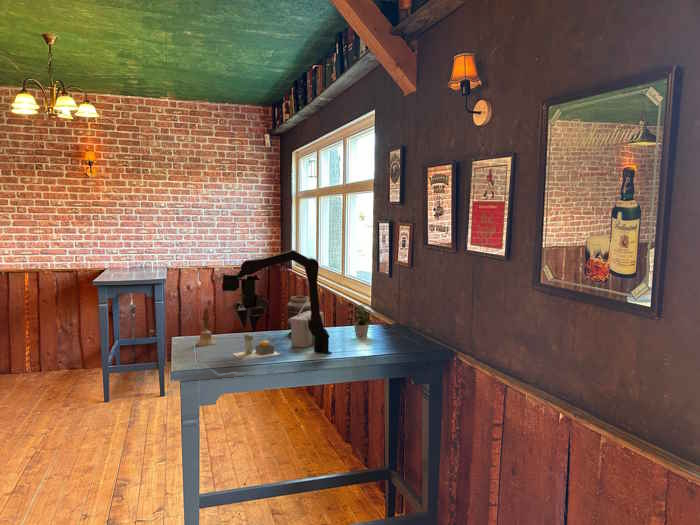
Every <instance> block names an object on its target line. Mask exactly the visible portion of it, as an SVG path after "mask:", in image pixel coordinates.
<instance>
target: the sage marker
mask: <svg viewBox="0 0 700 525" xmlns="http://www.w3.org/2000/svg"><path fill="white" fill-rule="evenodd" d="M243 336H244V337H243V338H244V352H245V354H252V353H253V350H254V347H253V346H254V345H253V344H254V343H253V342H254V341H253V340H254V334H252V333H245V334H244V335H243Z"/></svg>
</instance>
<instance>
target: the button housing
mask: <svg viewBox="0 0 700 525" xmlns="http://www.w3.org/2000/svg"><path fill="white" fill-rule="evenodd" d="M255 350H256V352H257V353H259V354H261V355H263V354H269V353H274V351H275V345H274V344H271V343H270V342H269V346H265V347H261V346H260V343H259V344H258V343H256V344H255Z"/></svg>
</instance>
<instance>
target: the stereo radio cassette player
mask: <svg viewBox="0 0 700 525" xmlns="http://www.w3.org/2000/svg"><path fill="white" fill-rule="evenodd" d="M308 298H309V299H310V297H309V296H308ZM307 301H308V300H307ZM307 301H306V303H307ZM306 303H305V304H304V306H305V305H306ZM304 306H303V307H302V309H303V308H304ZM302 309H301V311H302ZM301 311H300V312H299V314H298V315H297V316H295V317H292V318H290V317H289V318H290V322H291V327H290V328H291V329H290V332H291V335H290V339H291V340H290V343H291V347H295V348H302V349H303V348H304V349H305V348H307V347H310V346H312V345H314V337H315V336H313V335H312V334H311V331H310V330H309V329H308V320H307V318H310V316H311V310H310V311H307V312H304V313H302V314H300V313H301ZM320 315H321V319H322V322H323V326H324V327H325V318H324V316H325V315H324V312H322V311H320Z"/></svg>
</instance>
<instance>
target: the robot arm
mask: <svg viewBox="0 0 700 525" xmlns="http://www.w3.org/2000/svg"><path fill="white" fill-rule="evenodd" d="M291 261H293V262H295V263H297V264H298V265H300V266H301V267H303V268H304V270H305V275H306V278H307V283H308V293H309V294H308V298H309V297H310V298H309V301H310V311H311V316H310V318H307V320H308V329H309V330H310V331H311V334H312V335H313V336H315V337H314V343H313V350H314V353H316V354H322V355H323V354H326V355H329V354H330V355H331V354H332V351H330V350H329V349H330V348H329V347H330V346H329V345H330V344H329V339H330V335H329V332H328V330H326V328H325V325H324V326H323V322H322V319H321V315H320V312H321V310H320V299H319V297H320V296H319V290H318V289H319V288H318V277H319V268H320V265H319V262H318V261H317V259H315V258H313V257H307V256H305V255H303V254H301V253H300V252H299V251H298V252H297V250H294V249H290V250H289V251H286V252H285V251H284V252H281V253H278V254H275V255H270V256H267V257H264V258H252V259H246V260H244V261H243V262H242V264H241V265H240V270H239V271H238V272H237V273H236V274H227V273H225V274H223V275H222V283H221V289H222V292H238V290H240V288H241V292H240V293H239V297H241V301H235V302H234V303H233V304H232V309H234V312H235V314H236V315H237V318H238V319H239V321H240V323H241V326H242V328H246V327H247V320H248V323H249V325H250V328H251V329H250V330H251V331H252V332H256V329H257V326H258V323H259V320H260V318H262V317H264V315H266V309H268V308H269V305H270V304H269V303H270V300H268V299H265V298H264V297H263V296H262V295H261V294H260V295H259V294H258V293H257V287H256V285H257V281H261V276H259V275H258V274H257V272H259V271H261V270H263V269H266V268H269V267H272V266H276V265H279V264H283V263H287V262H291ZM253 274H255V275H253ZM245 276H246V277H245ZM265 308H266V309H265Z"/></svg>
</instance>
